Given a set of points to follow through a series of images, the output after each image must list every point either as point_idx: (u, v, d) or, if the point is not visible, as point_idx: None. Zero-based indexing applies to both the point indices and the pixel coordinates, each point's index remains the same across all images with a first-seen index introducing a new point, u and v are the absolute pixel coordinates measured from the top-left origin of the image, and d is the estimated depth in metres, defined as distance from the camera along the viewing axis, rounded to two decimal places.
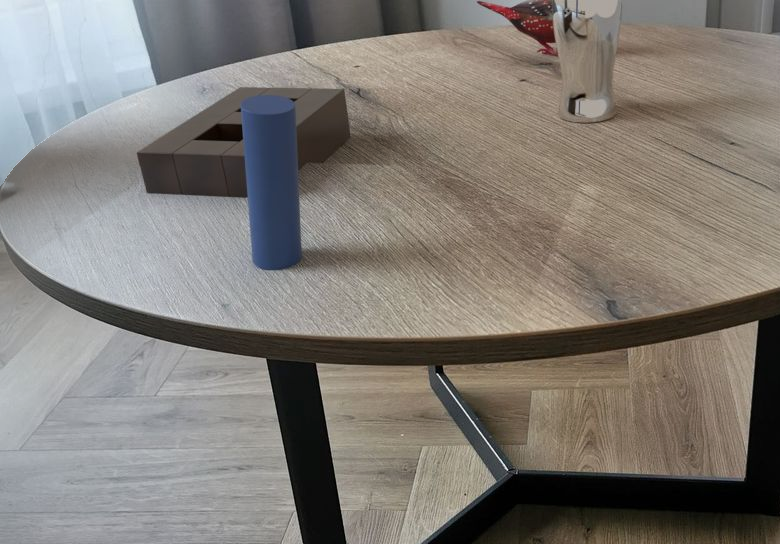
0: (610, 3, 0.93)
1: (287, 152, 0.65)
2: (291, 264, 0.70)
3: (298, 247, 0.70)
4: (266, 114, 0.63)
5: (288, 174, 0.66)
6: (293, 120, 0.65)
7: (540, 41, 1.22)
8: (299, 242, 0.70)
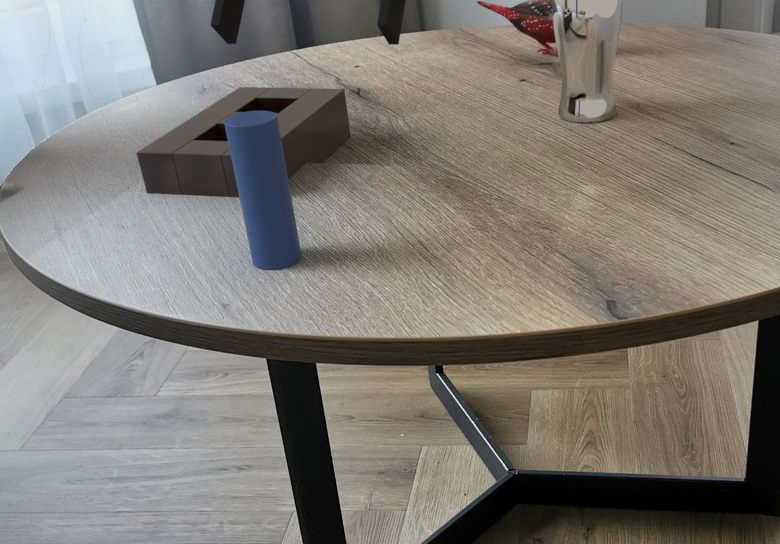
0: (610, 3, 0.93)
1: (274, 162, 0.66)
2: None
3: (298, 259, 0.71)
4: (248, 126, 0.64)
5: (277, 184, 0.67)
6: (276, 130, 0.66)
7: (540, 41, 1.22)
8: (299, 254, 0.71)
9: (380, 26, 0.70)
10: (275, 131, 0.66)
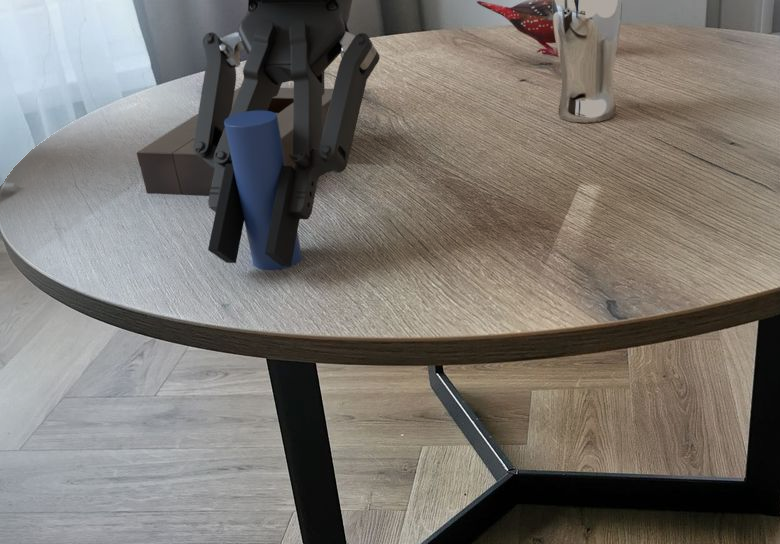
0: (610, 3, 0.93)
1: (274, 162, 0.66)
2: None
3: (298, 259, 0.71)
4: (248, 126, 0.64)
5: (277, 184, 0.67)
6: (276, 130, 0.66)
7: (540, 41, 1.22)
8: (299, 254, 0.71)
9: (268, 254, 0.66)
10: (275, 131, 0.66)
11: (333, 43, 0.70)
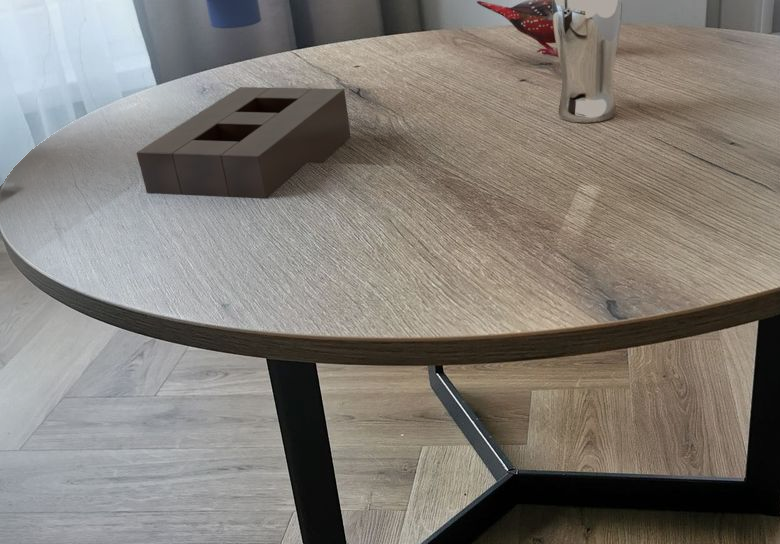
0: (610, 3, 0.93)
1: None
2: (248, 20, 0.68)
3: (253, 2, 0.68)
4: None
5: None
6: None
7: (540, 41, 1.22)
8: None
9: None
10: None
11: None
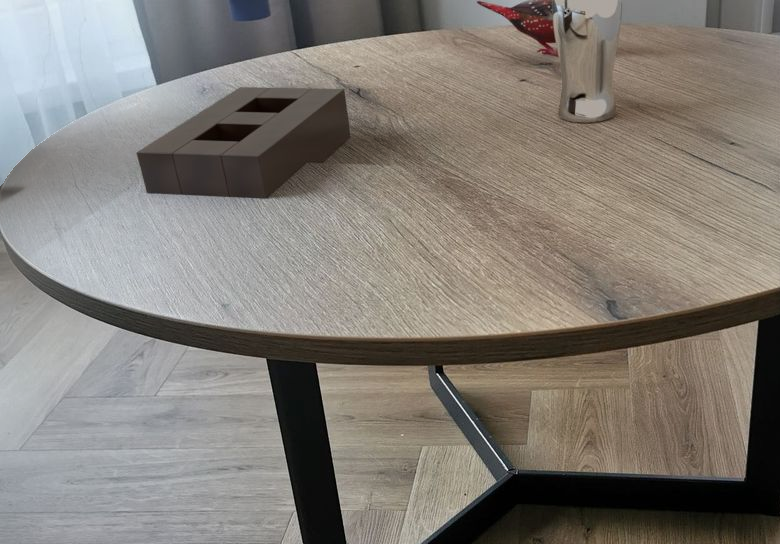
0: (610, 3, 0.93)
1: None
2: (261, 15, 0.87)
3: (265, 1, 0.87)
4: None
5: None
6: None
7: (540, 41, 1.22)
8: None
9: None
10: None
11: None
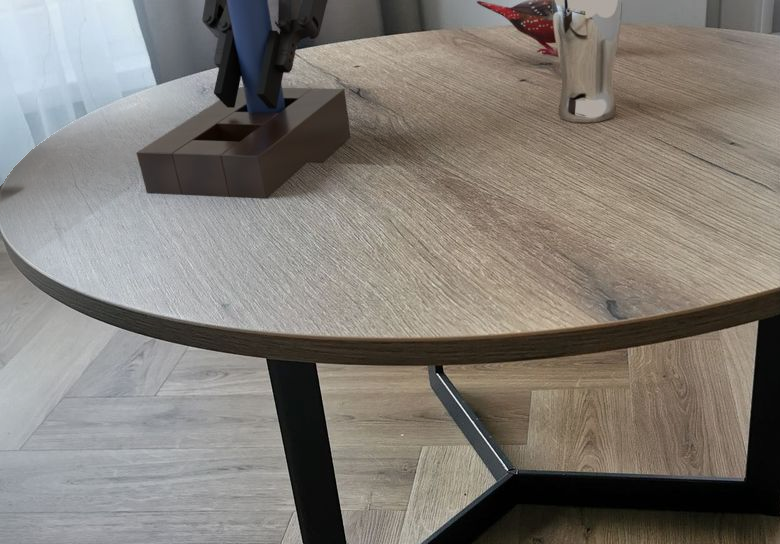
0: (610, 3, 0.93)
1: (264, 27, 0.88)
2: None
3: (282, 107, 0.93)
4: None
5: None
6: (265, 2, 0.88)
7: (540, 41, 1.22)
8: (283, 104, 0.93)
9: (259, 95, 0.88)
10: (264, 3, 0.88)
11: None
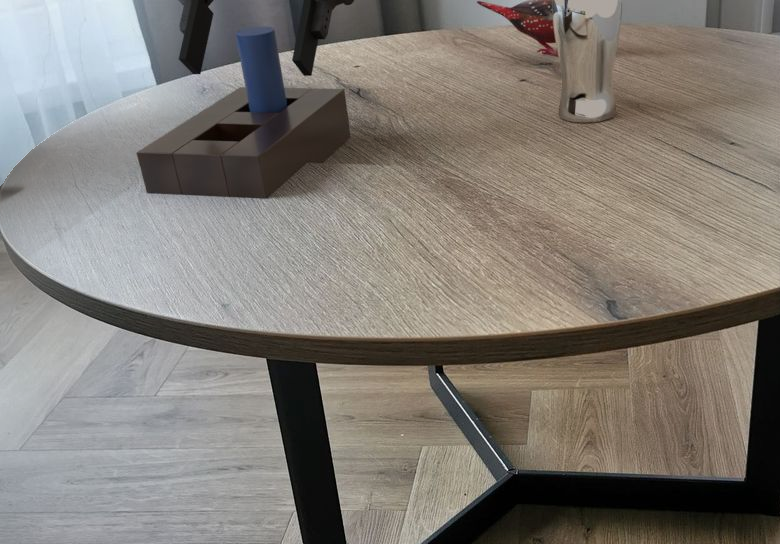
0: (610, 3, 0.93)
1: (272, 64, 0.90)
2: None
3: None
4: (253, 35, 0.88)
5: (275, 81, 0.91)
6: (274, 40, 0.89)
7: (540, 41, 1.22)
8: None
9: (294, 61, 0.86)
10: (273, 40, 0.89)
11: None
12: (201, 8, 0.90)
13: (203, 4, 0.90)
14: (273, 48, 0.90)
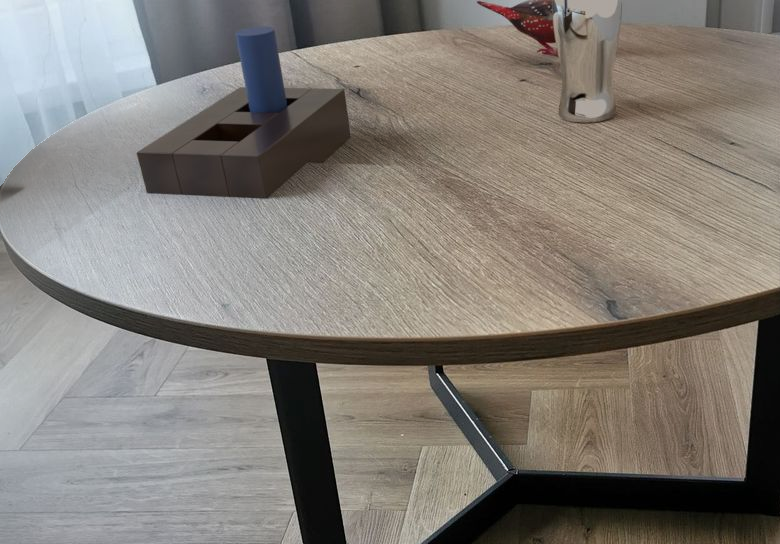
0: (610, 3, 0.93)
1: (272, 64, 0.90)
2: None
3: None
4: (253, 35, 0.88)
5: (275, 81, 0.91)
6: (274, 40, 0.89)
7: (540, 41, 1.22)
8: None
9: None
10: (273, 40, 0.89)
11: None
12: None
13: None
14: (273, 48, 0.90)
